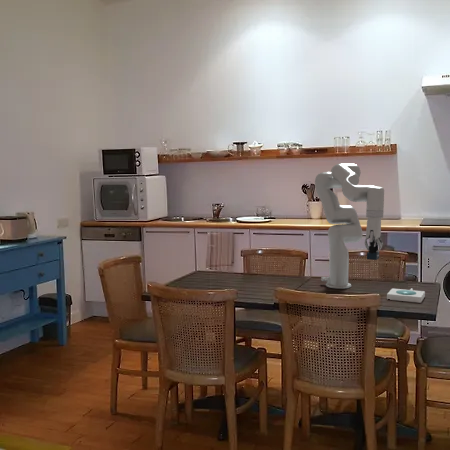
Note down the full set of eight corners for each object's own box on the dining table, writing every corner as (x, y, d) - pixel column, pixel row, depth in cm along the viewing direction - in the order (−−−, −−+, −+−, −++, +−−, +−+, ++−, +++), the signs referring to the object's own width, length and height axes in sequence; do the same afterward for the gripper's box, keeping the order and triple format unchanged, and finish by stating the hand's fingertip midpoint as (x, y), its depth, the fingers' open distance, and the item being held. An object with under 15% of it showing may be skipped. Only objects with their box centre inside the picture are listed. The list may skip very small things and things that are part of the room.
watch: (380, 260, 259) (381, 236, 258) (362, 258, 263) (363, 234, 262) (383, 258, 264) (384, 234, 263) (365, 257, 268) (366, 233, 267)
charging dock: (386, 299, 267) (387, 293, 267) (396, 288, 288) (396, 283, 288) (420, 302, 260) (421, 296, 260) (427, 291, 282) (428, 286, 281)
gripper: (370, 212, 270) (369, 250, 272) (362, 215, 255) (360, 256, 258) (386, 212, 267) (385, 252, 269) (379, 216, 252) (377, 257, 255)
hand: (373, 253), depth 263 cm, fingers closed on watch, 3 cm apart
